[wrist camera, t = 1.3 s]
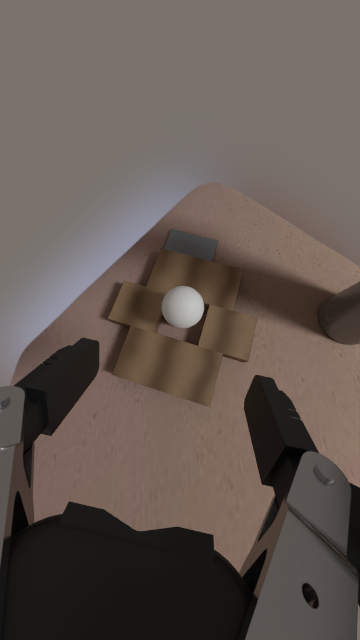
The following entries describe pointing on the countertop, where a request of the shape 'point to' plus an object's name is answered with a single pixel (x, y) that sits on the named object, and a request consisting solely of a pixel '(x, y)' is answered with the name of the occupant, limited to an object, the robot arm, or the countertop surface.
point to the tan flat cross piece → (174, 355)
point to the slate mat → (191, 245)
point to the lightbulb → (182, 307)
